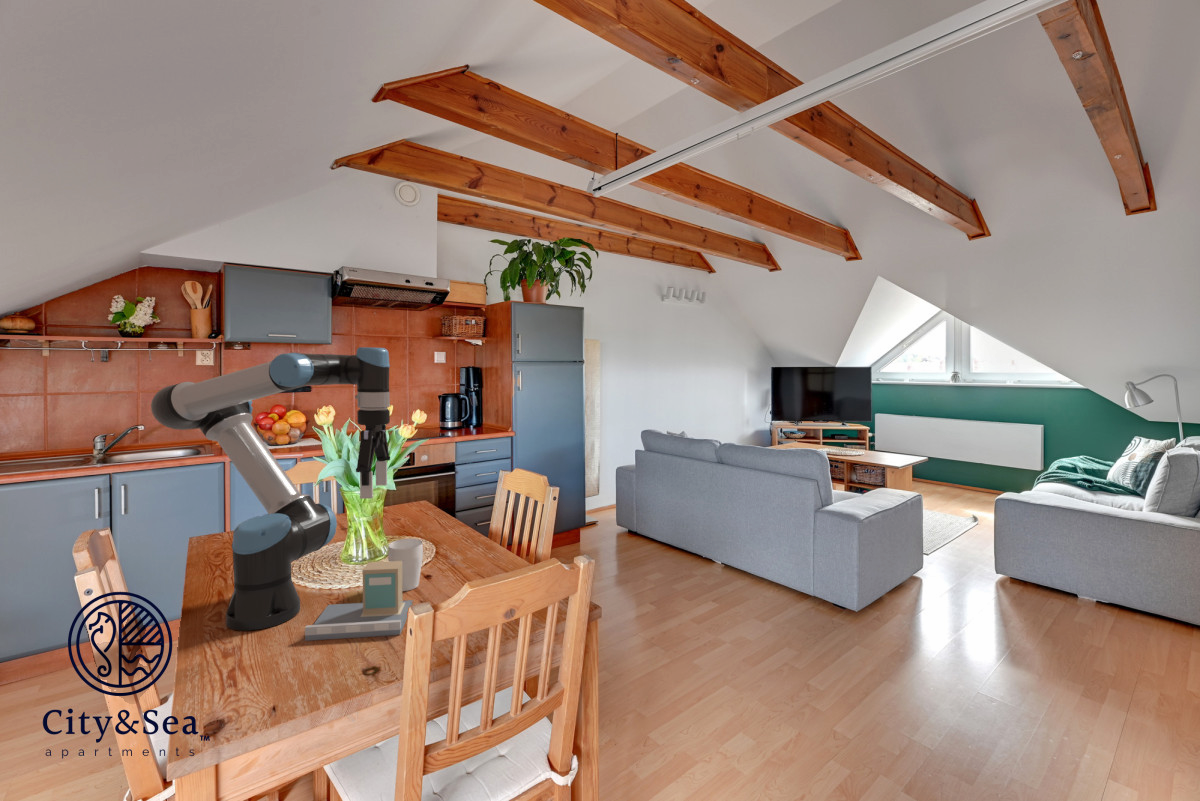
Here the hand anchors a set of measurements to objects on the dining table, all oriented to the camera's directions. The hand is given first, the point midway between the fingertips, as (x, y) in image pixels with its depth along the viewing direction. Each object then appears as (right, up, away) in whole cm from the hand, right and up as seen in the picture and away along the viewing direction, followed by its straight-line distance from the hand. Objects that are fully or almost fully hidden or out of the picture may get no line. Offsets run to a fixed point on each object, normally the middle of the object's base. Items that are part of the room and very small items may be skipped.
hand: (374, 491), depth 135 cm
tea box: (+5, -28, -6) cm, 29 cm away
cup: (+4, -28, +11) cm, 30 cm away
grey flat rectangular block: (+1, -29, -9) cm, 31 cm away
